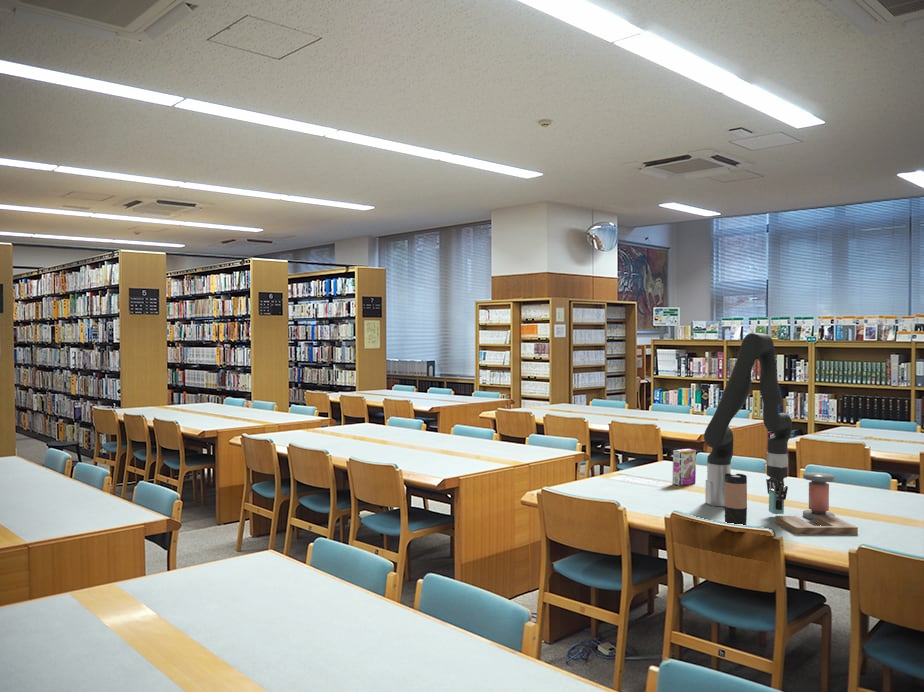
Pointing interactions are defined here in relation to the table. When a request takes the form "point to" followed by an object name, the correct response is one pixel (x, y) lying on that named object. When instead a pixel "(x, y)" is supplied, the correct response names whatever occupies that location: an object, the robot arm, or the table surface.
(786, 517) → the notched board
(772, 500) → the teal peg
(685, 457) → the candy bar box
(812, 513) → the bobbin
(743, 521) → the travel mug
